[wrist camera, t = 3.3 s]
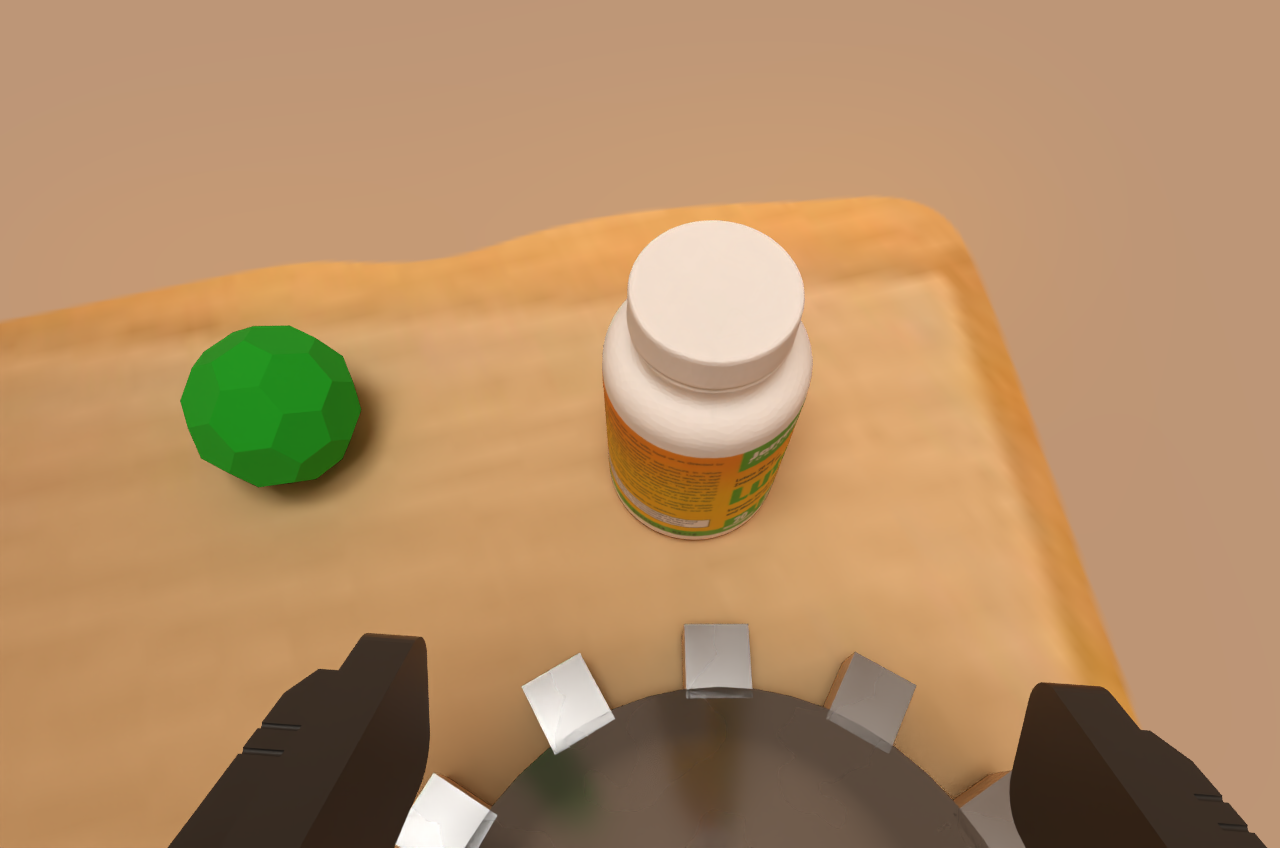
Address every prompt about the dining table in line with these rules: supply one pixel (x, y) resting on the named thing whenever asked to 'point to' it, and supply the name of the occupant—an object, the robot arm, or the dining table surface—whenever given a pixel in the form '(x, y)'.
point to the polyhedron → (271, 405)
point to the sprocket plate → (718, 768)
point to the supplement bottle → (704, 377)
